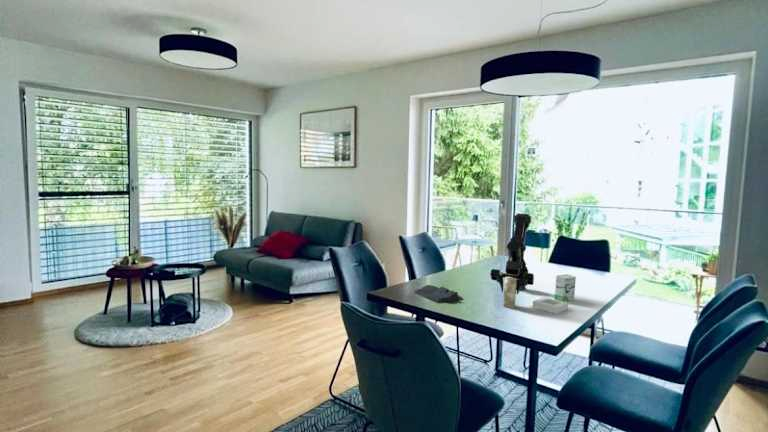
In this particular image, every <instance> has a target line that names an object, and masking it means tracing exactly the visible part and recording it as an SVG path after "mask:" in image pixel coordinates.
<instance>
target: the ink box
mask: <svg viewBox="0 0 768 432" xmlns="http://www.w3.org/2000/svg"><path fill="white" fill-rule="evenodd" d="M555 276H556V279H555V290H554V299H555V300H559V301H563V302H571V301H575V291H576V282H577V281H576V280H577V276H575V275H570V274H557V275H555Z"/></svg>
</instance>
